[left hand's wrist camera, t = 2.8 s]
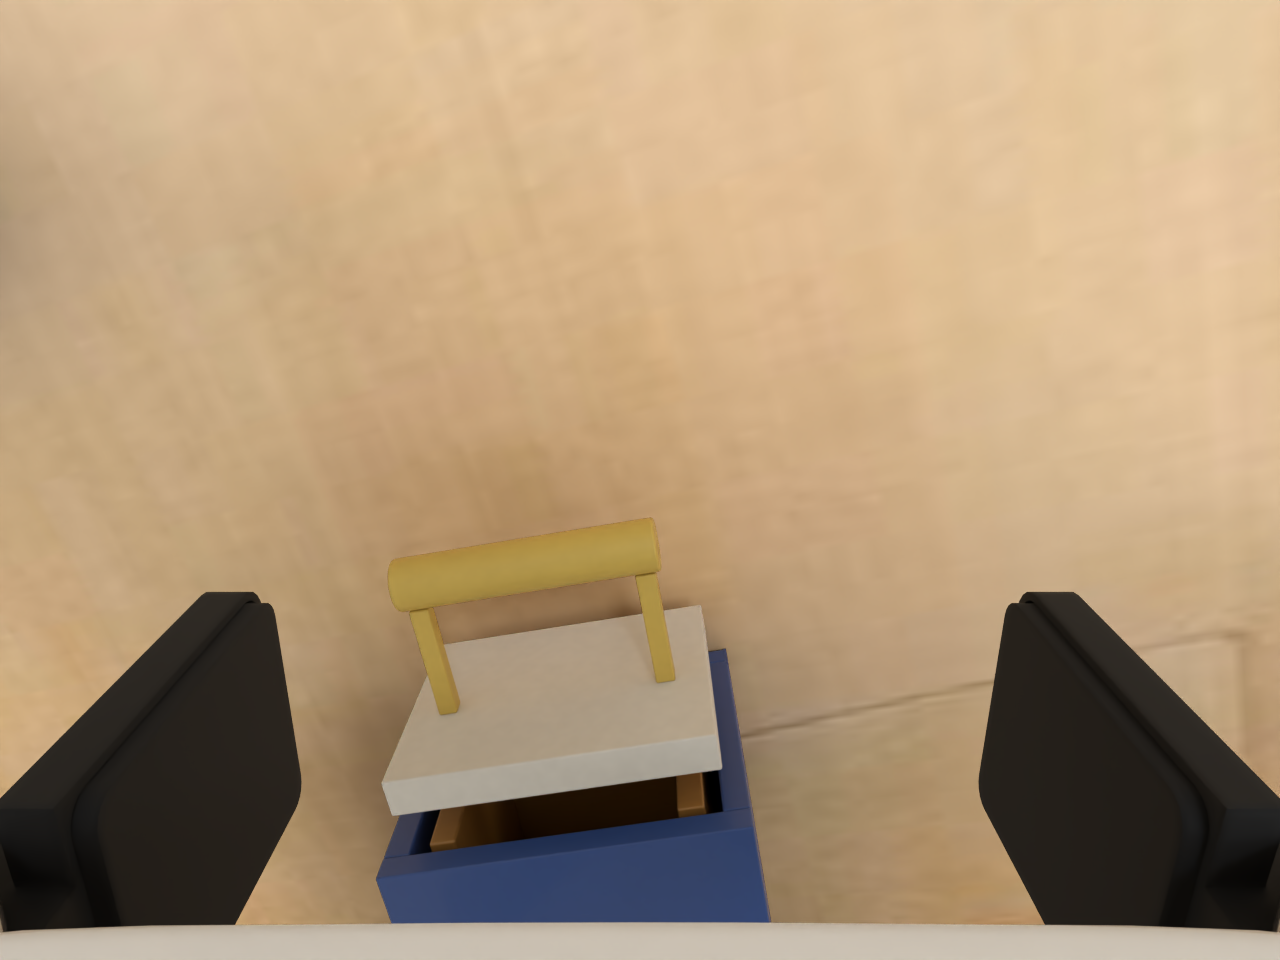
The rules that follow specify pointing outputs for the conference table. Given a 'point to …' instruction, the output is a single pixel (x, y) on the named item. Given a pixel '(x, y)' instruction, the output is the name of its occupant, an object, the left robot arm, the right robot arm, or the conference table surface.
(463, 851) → the blue storage bin
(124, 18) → the conference table surface
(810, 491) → the conference table surface
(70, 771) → the left robot arm
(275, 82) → the conference table surface
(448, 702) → the drawer
